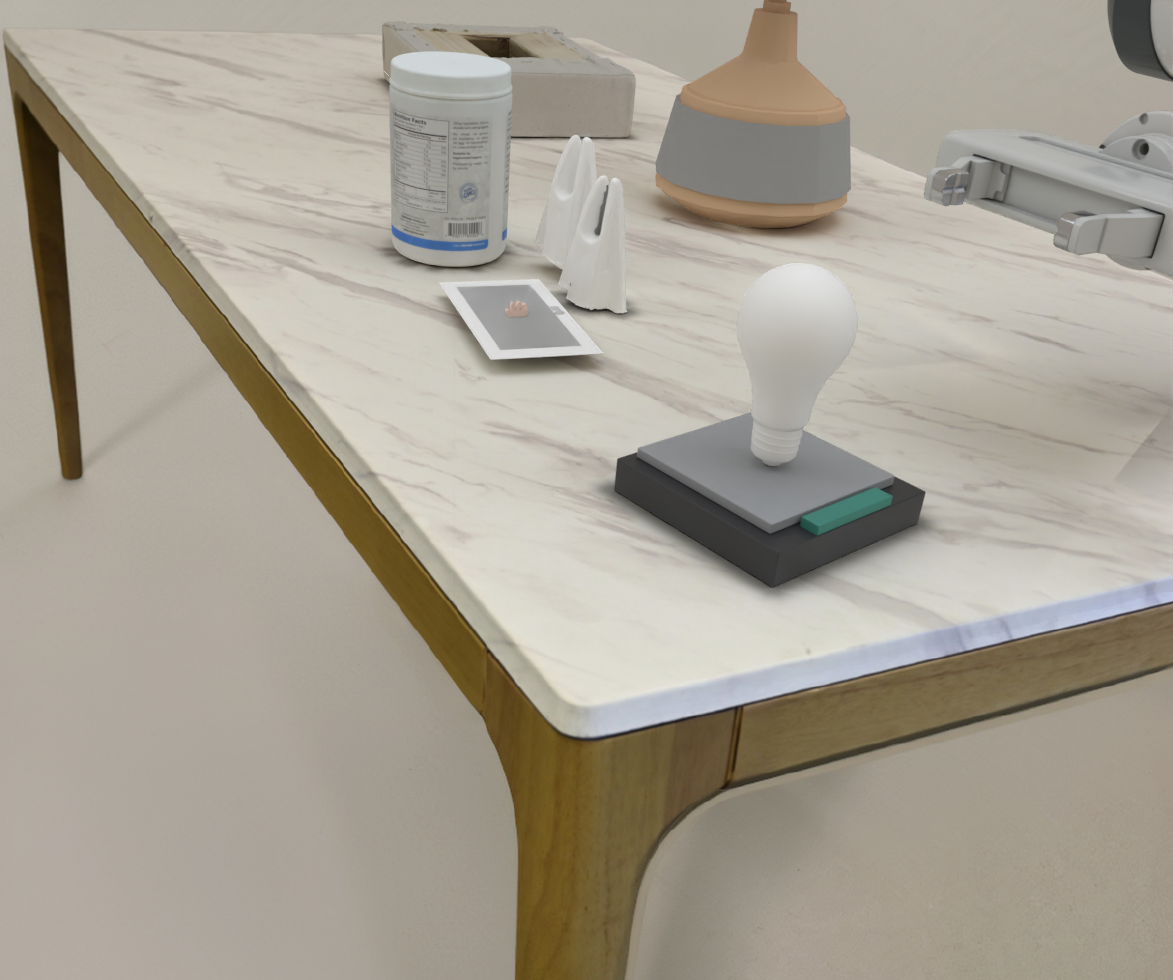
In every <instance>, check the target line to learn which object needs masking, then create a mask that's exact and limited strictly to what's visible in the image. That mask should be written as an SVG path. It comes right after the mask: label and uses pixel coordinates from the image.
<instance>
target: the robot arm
mask: <svg viewBox="0 0 1173 980" xmlns="http://www.w3.org/2000/svg"><path fill="white" fill-rule="evenodd" d="M1106 5H1107V6H1106V8H1107V9H1106V11H1107V20H1108V27H1109V32H1110V36H1111V40H1112V43H1113V46H1114V48H1115V51H1116V54H1117V56H1118V58H1119V60H1120V61H1121V63H1122V64H1123V65H1124V66H1125V68H1126V69H1127V70H1129V71H1130V72H1132V73H1135V74H1138V75H1142V76H1146V77H1150V78H1154V79H1157V80H1163V81H1166V82H1170V83H1173V0H1107V3H1106ZM923 197H924V199H925V200H926V201H929V202H931V203H934V204H937V205H940V206H944V207H950V206H962V205H964V203H965V204H967V205H970V206H973V207H976V208H978V209H981V210H984V211H987V212H990V213H992V214H994V215H995V214H996V215H998V216H1000V217H1004V218H1007V219H1010V220H1012V221H1015V222H1018V223H1020V224H1023V225H1026V226H1029V227H1032V228H1034V229H1037V230H1040V231H1043V232H1045V233H1049V234H1052V235H1053V240H1052V245H1053V246H1054V247H1055V248H1057V249H1060V250H1062V251H1065V252H1067V253H1071V254H1073V255H1076V256H1084V255H1091V254H1099V255H1105V256H1106V257H1107V258H1109V259H1110V260H1111V261H1113V262H1114V263H1116V264H1117V265H1119V266H1121V267H1124V268H1127V269H1129V270H1134V271H1144V272H1145V271H1155V272H1158V273H1160V274H1162V275H1166V276H1169V277H1170V278H1171V277H1172V278H1173V109H1165V110H1164V109H1163V110H1152V111H1147V112H1142V113H1139V114H1136V115H1134V116H1132V117H1130V118H1128V119H1126V120H1124V121H1123V122H1121V123H1120V124H1119V125H1118V126H1116V127H1115V128H1114V129H1113V130H1112V131H1110V133H1109V134H1107V136H1106V137H1105V138H1104V139H1103V141H1102V142H1101V143H1100V145H1099V147H1098V146H1095V145H1091V144H1088V143H1084V142H1081V141H1077V140H1073V139H1069V138H1067V137H1063V136H1059V135H1056V134H1052V133H1048V132H1043V131H1038V130H1031V129H1021V128H1020V129H1019V128H968V129H967V128H966V129H965V128H964V129H963V128H962V129H954V130H950V131H948V132H947V133H946V134H945V135H944V136H943V138H942V140H941V143H940V145H939V148H938V152H937V157H936V160H935V167H933V168H931V169H930V170H929V171H928V173H927V175H926V180H925V185H924V190H923Z"/></svg>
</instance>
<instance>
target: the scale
mask: <svg viewBox="0 0 1173 980" xmlns="http://www.w3.org/2000/svg"><path fill="white" fill-rule="evenodd" d="M753 422H754V418H753V417H752V415H751V412H748V413H745V414H741V415H738V416H734V417H732V418H728V419H725V420H722V421H719V422H716V423H713V424H709V425H706V426H703V427H700V428H696V429H693V430H691V431H686V432H684V433H681V434H678V435H674V436H671V437H668V438H665V439H662V440H659V441H655V442H651V443H649V444H646V445H642V446H639V447H638V448H637V451H636V452H634V453H631V454H627V455H624V456H621V457H618V458H617V459H616V466H615V467H616V468H615V478H614V487H613V490H614V491H615V492H617V493H618V494H619V495H622V496H623V497H624V498H626V499H628V500H630V501H631V502H633V503H634V504H636V505H637V506H640V507H641V508H643V510H646V511H648V512H649V513H651V514H652V515H654V516H656V517H657V518H659V519H660V520H662V521H664V522H666V523H667V524H669V525H670V526H671V527H673V528H675V529H676V530H678V531H680V532H682V533H683V534H684V535H687V536H688V537H689V538H691V539H693V540H694V541H697V542H698V543H700V544H701V545H703V546H705V547H706V548H707V549H709V550H710V551H713V552H714V553H716V554H717V555H719V556H721V557H722V558H724V559H726V561H727V560H728V561H729V562H731V563H732V564H734V565H736V566H737V567H738V568H741V569H742V570H743V571H745V572H747V573H749V574H750V575H752V576H753V577H755V578H757V579H758V580H760V581H761V582H763V583H765V584H766V585H768V586H769V587H771V588H775V587H776V586H779V585H781V584H783V583H786V582H787V581H790V580H791V579H795V578H796V577H798V576H801V575H803V574H806V573H807V572H810V571H812V570H815V569H817V568H819V567H821V566H823V565H826V564H828V563H830V562H833V561H835V560H837V559H840V558H842V557H844V556H846V555H849V554H851V553H853V552H855V551H857V550H860V549H862V548H864V547H867V546H869V545H872V544H873V543H876V542H878V541H880V540H882V539H885V538H887V537H889V536H892V535H894V534H896V533H898V532H901V531H903V530H906V529H907V528H909V527H912V526H914V525H917V524H918V523H919V520H920V517H921V512H922V508H923V505H924V502H925V501H924V500H925V497H926V493H927V492H926V491H925V490H923V489H921V488H920V487H917V486H915V485H913V484H911V483H909V482H907V481H905V480H903V479H902V478H899V477H897V476H896V475H895V474H893V473H891V472H889V471H887V470H885V469H883V468H881V467H879V466H877V465H875V464H872V463H870V462H868V461H867V460H865V459H862V458H861V457H859V456H857V455H855V454H852V453H851V452H849V451H846V450H845V449H843V448H841V447H838V446H836V445H834V444H832V443H830V442H829V441H827V440H825V439H823V438H821V437H818V436H817V435H814V434H812V433H810V432H808V431H806V430H804V429H803V431H802V436H801V439H800V444H799V449H798V451H797V455H796V457H795V458H794V459H792V460H791V461H789V462H785V463H781V464H780V465H778V466H769V465H766V464H765V463H763V461H762V460H761V459H759V458H758V457H756V456H755V455H754V454H753V452H752V450H751V437H752V429H753Z"/></svg>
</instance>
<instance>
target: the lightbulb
mask: <svg viewBox="0 0 1173 980" xmlns="http://www.w3.org/2000/svg"><path fill="white" fill-rule="evenodd" d="M738 306H739V307H738V309H737V312H736V319H735V327H736V338H737V343H738V346H739V349H740V352H741V354H742V355H741V356H742V358H743V360H744V363H745V365H746V368H747V370H748V373H749V379H750V385H751V405H750V406H751V407H750V413H751V415H752V417H753V418H754V422H753V429H752V437H751V450H752V452H753V454H754V455H755V456H756V457H758V458H759V459H761V460H762V461H763V463H765V464H766V465H769V466H778V465H780V464H781V463H785V462H789V461H791V460H792V459H794V458H795V457H796V455H797V451H798V449H799V444H800V439H801V436H802V431H803V430H804V428H805V427H806V426H807V425H808V424H809V422H810V419H811V416H812V412H813V408H814V405H815V403H816V401H817V398H818V396H819V394H820V393H821V391H822V389H824V388H823V387H824V386H825V385H826V384H827V382H828V380H829V379H831V377H832V376H833V375H834V374H835V373H836V372H837V370H838V369H839V368H840V367H841V365H842V364H843V363H844V361H846V359H847V358H848V356H849V355H850V353H851V350H852V349H853V346H854V344H855V342H856V338H857V333H858V328H859V327H858V326H859V321H858V320H859V319H858V318H859V316H858V311H857V310H858V309H857V305H856V302H855V300H854V297H853V295H852V293H851V292H850V290H849V288H848V287H847V285H846V284H845V283H844V282H843V280H841V279H840V278H839V277H838V276H837V275H836V274H835V273H833V272H831V271H830V270H828V269H826V268H825V267H823V266H820V265H817V264H813V263H809V262H808V263H807V262H790V263H786V264H782V265H778V266H776V267H774V268H771V269H769V270H768V271H765V272H764V273H763V274H762V275H760V276H759V277H758V278H757V279H755V281H754V282H753V283H752V284H750V286H749V287H748V288H747V290H746V292H745V294H744V295H743V297H742V299H741V301H740V303H739V305H738Z"/></svg>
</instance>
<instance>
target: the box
mask: <svg viewBox="0 0 1173 980" xmlns="http://www.w3.org/2000/svg"><path fill="white" fill-rule="evenodd" d="M381 48H382V49H381V51H382V52H381V53H382V68H383V77H384V79H385V80H386V81H387V83H389V84H390V82H389V79H390V77H391V60H392V59H393V58H394V57H396V56H398V55H402V54H406V53H414V52H428V51H436V52H457V53H468V54H476V55H481V56H486V57H491V58H494V59H498V60H501V61H503V62H505V63H507V64H508V65H509V66H510V67H511V84H512V118H511V137H516V138H517V137H525V138H526V137H531V138H532V137H535V138H536V137H538V138H540V137H541V138H542V137H543V138H544V137H545V138H571V137H572V136H574V135H578V136H579V137H580V138H585V137H588V138H620V139H621V138H629V137H630V135H631V132H632V125H633V117H634V108H635V96H636V86H637V85H636V84H637V83H636V80H637V79H636V75H635V73H634V72H633V71H631V70H630V69H629V68H627V67H624V66H623V65H621V64H618V63H616V62H614V60H612V59H611V58H609V57H601V56H599V55H597V54H596V53H595V52H593V51H591V50H589V49H588V48H585V47H584V46H582V45H581V44H579V43H578V42H576V41H574V40H572V39H571V38H569V37H567V36H565V35H564V32H563V31H561V30H560V29H558V28H556V27H554V26H547V25H540V26H509V25H507V26H505V25H503V26H501V25H500V26H499V25H477V24H473V25H472V24H453V23H447V24H444V23H414V22H406V21H403V20H395V21H387V22H383V23H382V25H381ZM384 71H385V72H386V73H387V74H388V75H389V76H388V75H387V74H386V73H385V72H384Z"/></svg>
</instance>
